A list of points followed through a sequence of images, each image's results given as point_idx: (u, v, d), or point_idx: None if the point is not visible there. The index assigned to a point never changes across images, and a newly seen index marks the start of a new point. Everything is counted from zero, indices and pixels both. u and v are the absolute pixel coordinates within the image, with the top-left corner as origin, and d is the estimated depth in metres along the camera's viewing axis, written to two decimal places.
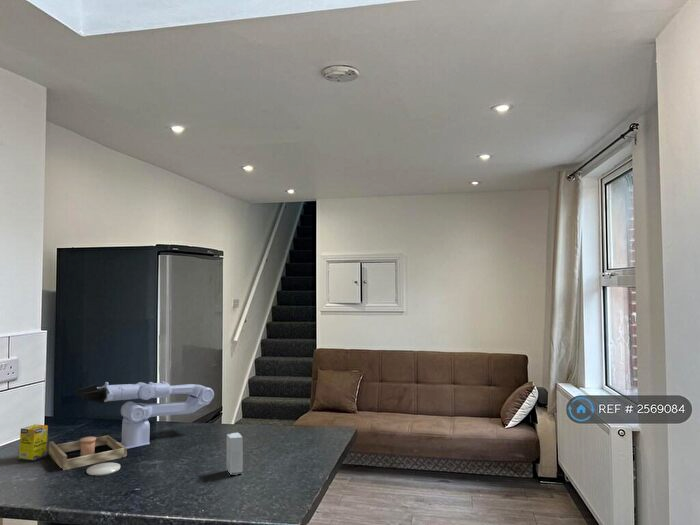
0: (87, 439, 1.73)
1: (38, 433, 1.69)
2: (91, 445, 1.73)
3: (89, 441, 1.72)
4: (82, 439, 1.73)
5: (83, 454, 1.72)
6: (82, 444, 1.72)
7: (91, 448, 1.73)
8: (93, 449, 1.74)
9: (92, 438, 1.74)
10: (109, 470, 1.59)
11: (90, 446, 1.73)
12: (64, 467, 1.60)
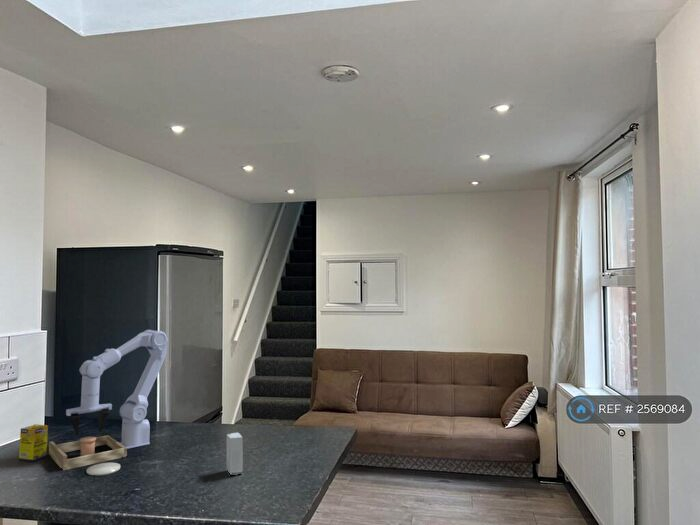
0: (87, 439, 1.73)
1: (38, 433, 1.69)
2: (91, 445, 1.73)
3: (89, 441, 1.72)
4: (82, 439, 1.73)
5: (83, 454, 1.72)
6: (82, 444, 1.72)
7: (91, 448, 1.73)
8: (93, 449, 1.74)
9: (92, 438, 1.74)
10: (109, 470, 1.59)
11: (90, 446, 1.73)
12: (64, 467, 1.60)
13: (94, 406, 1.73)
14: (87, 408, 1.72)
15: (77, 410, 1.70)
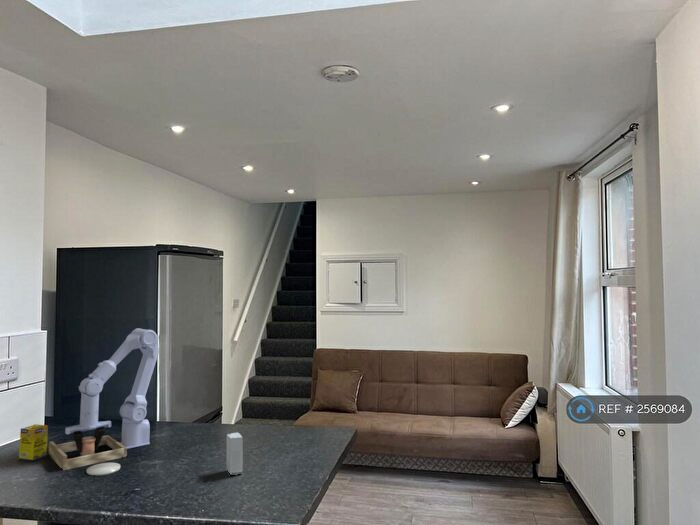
0: (87, 439, 1.73)
1: (38, 433, 1.69)
2: (91, 445, 1.73)
3: (89, 441, 1.72)
4: (82, 439, 1.73)
5: (83, 454, 1.72)
6: (82, 444, 1.72)
7: (91, 447, 1.73)
8: (93, 449, 1.74)
9: (92, 438, 1.74)
10: (109, 470, 1.59)
11: (90, 446, 1.73)
12: (64, 467, 1.60)
13: (93, 424, 1.73)
14: (86, 426, 1.71)
15: (76, 428, 1.70)
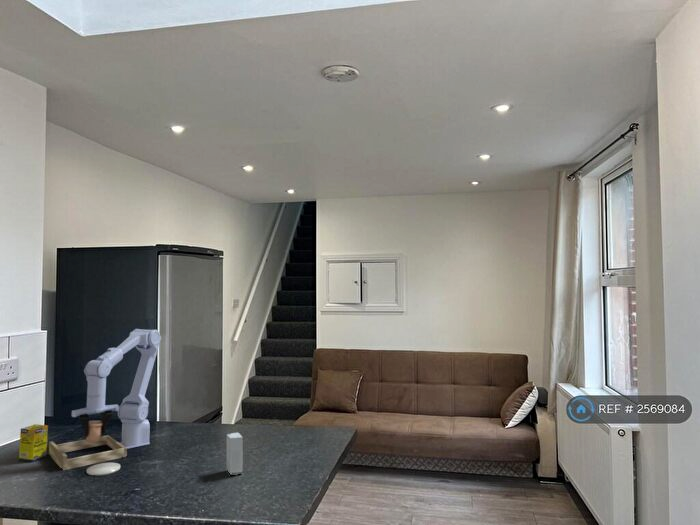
0: (94, 423, 1.68)
1: (38, 433, 1.69)
2: (98, 429, 1.68)
3: (96, 425, 1.67)
4: (89, 423, 1.68)
5: (89, 438, 1.67)
6: (88, 428, 1.67)
7: (97, 432, 1.68)
8: (99, 434, 1.69)
9: (99, 422, 1.70)
10: (109, 470, 1.59)
11: (97, 431, 1.68)
12: (64, 467, 1.60)
13: (100, 407, 1.68)
14: (93, 409, 1.67)
15: (83, 411, 1.65)
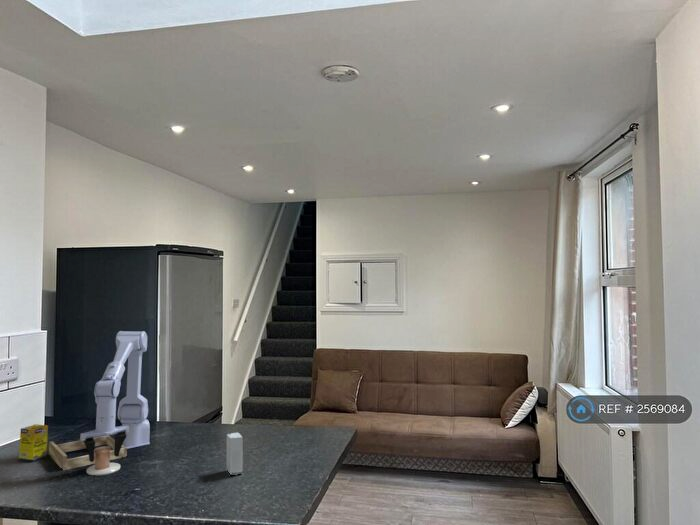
0: (102, 449, 1.61)
1: (38, 433, 1.69)
2: (106, 455, 1.60)
3: (104, 451, 1.60)
4: (96, 449, 1.61)
5: (98, 465, 1.59)
6: (96, 455, 1.60)
7: (106, 458, 1.60)
8: (108, 460, 1.61)
9: (107, 448, 1.62)
10: (109, 470, 1.59)
11: (105, 457, 1.60)
12: (64, 467, 1.60)
13: (110, 429, 1.60)
14: (103, 432, 1.59)
15: (92, 434, 1.57)
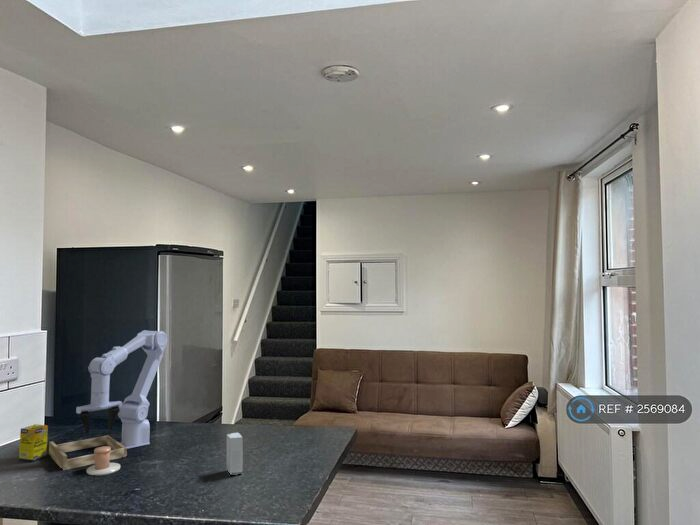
0: (102, 449, 1.61)
1: (38, 433, 1.69)
2: (106, 455, 1.60)
3: (104, 451, 1.60)
4: (96, 449, 1.61)
5: (98, 465, 1.59)
6: (96, 455, 1.60)
7: (106, 458, 1.60)
8: (108, 460, 1.61)
9: (107, 448, 1.62)
10: (109, 470, 1.59)
11: (105, 457, 1.60)
12: (64, 467, 1.60)
13: (104, 404, 1.71)
14: (97, 406, 1.70)
15: (87, 408, 1.69)
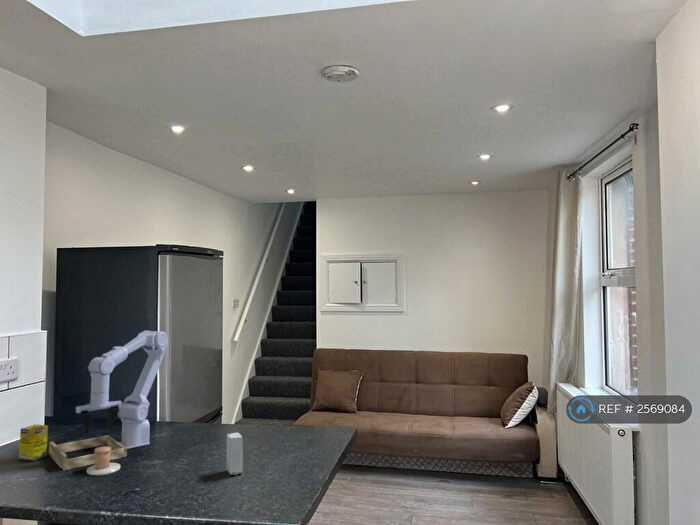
0: (102, 449, 1.61)
1: (38, 433, 1.69)
2: (106, 455, 1.60)
3: (104, 451, 1.60)
4: (96, 449, 1.61)
5: (98, 465, 1.59)
6: (97, 455, 1.60)
7: (106, 458, 1.60)
8: (108, 460, 1.61)
9: (107, 448, 1.62)
10: (109, 470, 1.59)
11: (106, 457, 1.60)
12: (64, 467, 1.60)
13: (104, 403, 1.72)
14: (97, 405, 1.70)
15: (87, 407, 1.69)
